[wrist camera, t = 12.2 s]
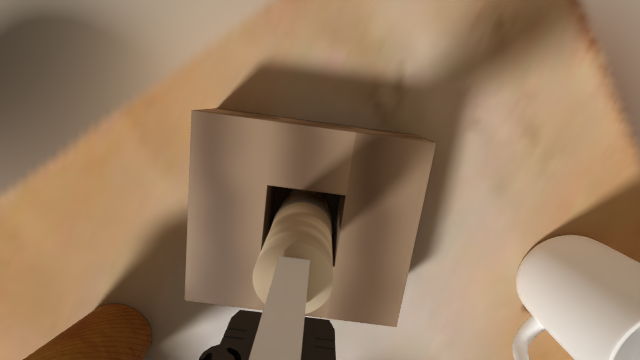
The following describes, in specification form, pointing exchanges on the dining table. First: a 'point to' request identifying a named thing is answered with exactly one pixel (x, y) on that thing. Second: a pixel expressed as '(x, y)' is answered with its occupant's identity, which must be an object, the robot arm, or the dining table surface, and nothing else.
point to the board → (313, 175)
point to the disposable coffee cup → (101, 337)
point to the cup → (580, 299)
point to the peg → (299, 245)
